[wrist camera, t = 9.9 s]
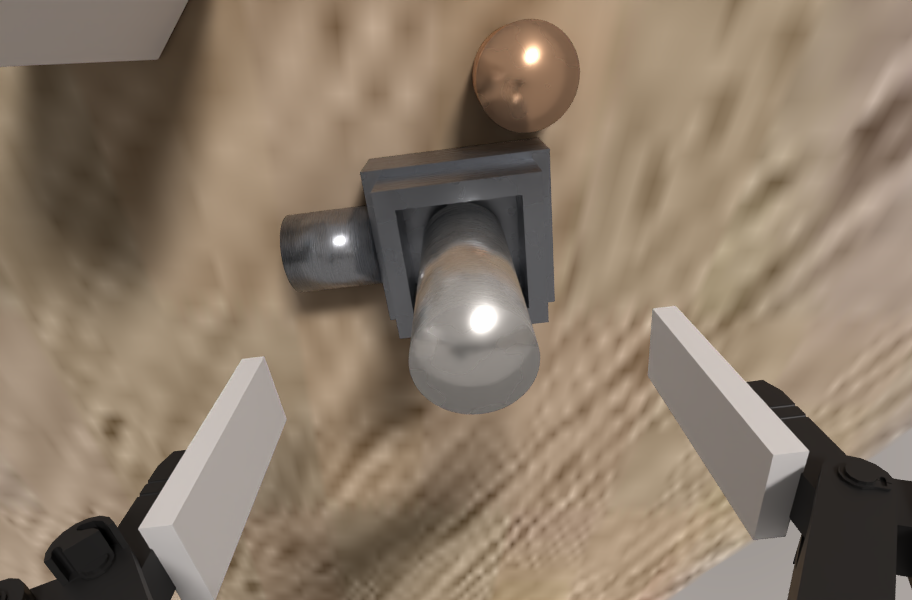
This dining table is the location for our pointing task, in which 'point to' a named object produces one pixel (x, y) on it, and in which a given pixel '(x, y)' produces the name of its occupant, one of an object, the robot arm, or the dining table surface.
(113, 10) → the milk carton
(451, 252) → the silver rounded cylinder
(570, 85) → the glossy bronze sphere
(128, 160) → the dining table surface
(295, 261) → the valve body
